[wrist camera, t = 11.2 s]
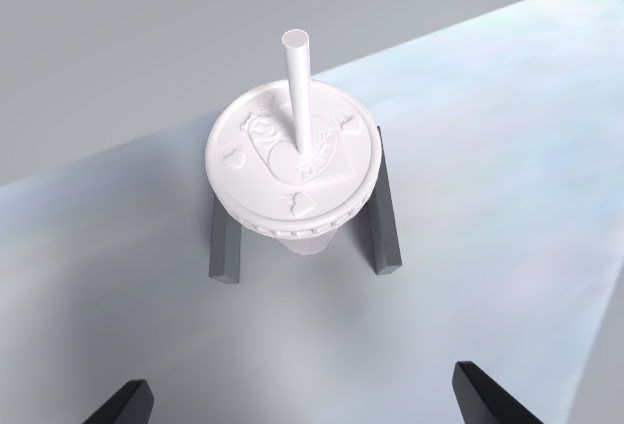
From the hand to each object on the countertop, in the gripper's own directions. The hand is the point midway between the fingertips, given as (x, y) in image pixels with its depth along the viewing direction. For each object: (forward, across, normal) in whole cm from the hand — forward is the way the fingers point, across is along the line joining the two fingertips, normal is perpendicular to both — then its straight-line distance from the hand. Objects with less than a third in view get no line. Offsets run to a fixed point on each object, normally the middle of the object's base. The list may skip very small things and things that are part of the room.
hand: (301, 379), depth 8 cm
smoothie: (+12, 0, +1) cm, 12 cm away
